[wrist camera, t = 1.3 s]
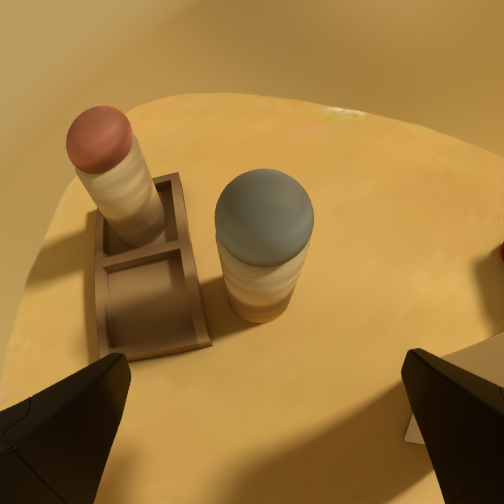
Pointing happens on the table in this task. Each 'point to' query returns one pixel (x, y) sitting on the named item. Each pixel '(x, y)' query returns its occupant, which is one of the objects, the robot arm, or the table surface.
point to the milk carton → (472, 370)
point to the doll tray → (150, 287)
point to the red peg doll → (116, 174)
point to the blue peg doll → (262, 241)
